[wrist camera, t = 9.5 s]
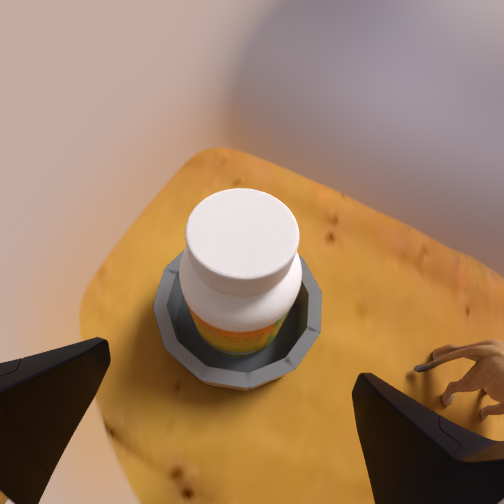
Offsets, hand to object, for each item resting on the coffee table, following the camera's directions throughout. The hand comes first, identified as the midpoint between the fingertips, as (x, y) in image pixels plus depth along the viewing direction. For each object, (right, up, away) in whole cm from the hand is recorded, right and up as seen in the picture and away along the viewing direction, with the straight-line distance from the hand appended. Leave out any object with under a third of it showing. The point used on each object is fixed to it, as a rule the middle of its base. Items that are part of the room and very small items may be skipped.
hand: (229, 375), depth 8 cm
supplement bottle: (0, 0, +9) cm, 9 cm away
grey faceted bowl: (0, 0, +10) cm, 10 cm away
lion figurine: (+20, -8, +7) cm, 22 cm away
